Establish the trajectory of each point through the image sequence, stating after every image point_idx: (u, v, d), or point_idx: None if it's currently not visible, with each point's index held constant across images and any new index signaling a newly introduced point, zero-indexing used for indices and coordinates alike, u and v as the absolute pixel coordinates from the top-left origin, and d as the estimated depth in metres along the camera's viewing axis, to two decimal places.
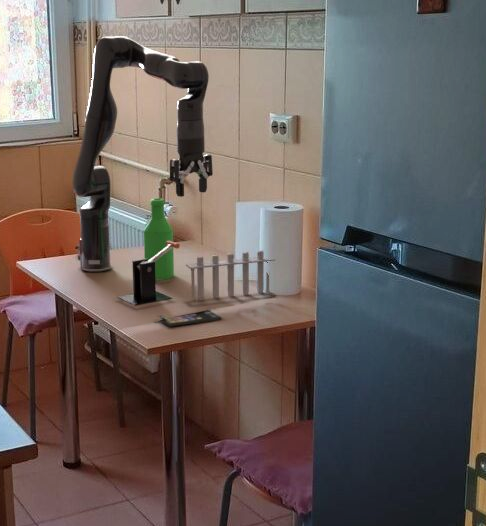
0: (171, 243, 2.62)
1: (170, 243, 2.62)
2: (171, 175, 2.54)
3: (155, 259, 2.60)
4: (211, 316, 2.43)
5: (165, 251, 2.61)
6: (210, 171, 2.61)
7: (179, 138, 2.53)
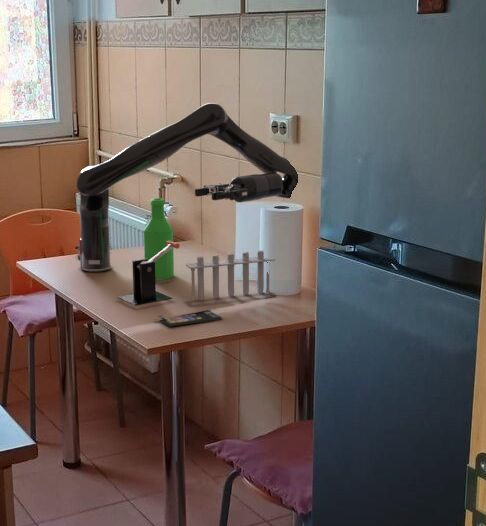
0: (171, 243, 2.62)
1: (170, 243, 2.62)
2: None
3: (155, 259, 2.60)
4: (211, 316, 2.43)
5: (165, 251, 2.61)
6: None
7: (256, 187, 2.68)
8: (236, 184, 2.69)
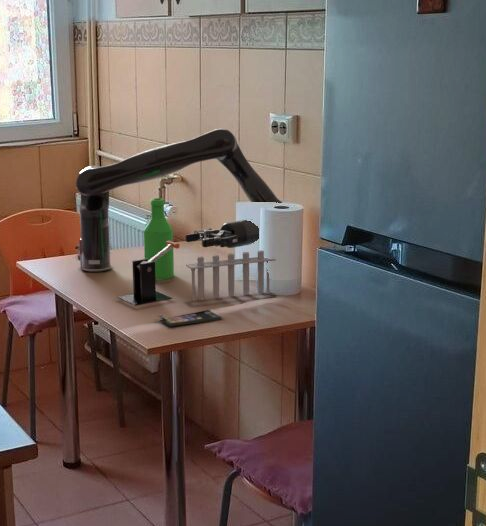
0: (171, 243, 2.62)
1: (170, 243, 2.62)
2: None
3: (155, 259, 2.60)
4: (211, 316, 2.43)
5: (165, 251, 2.61)
6: None
7: (246, 233, 2.70)
8: (226, 230, 2.71)
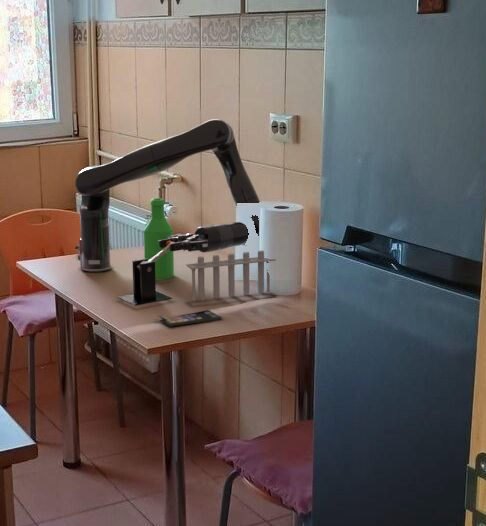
0: None
1: (170, 243, 2.62)
2: (193, 243, 2.59)
3: (155, 259, 2.60)
4: (211, 316, 2.43)
5: (165, 251, 2.61)
6: None
7: (220, 238, 2.65)
8: (200, 234, 2.66)
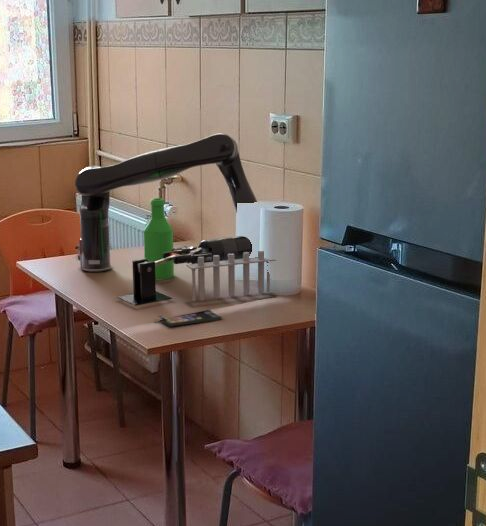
0: (175, 254, 2.63)
1: (174, 254, 2.63)
2: (197, 256, 2.60)
3: (156, 263, 2.60)
4: (211, 316, 2.43)
5: (168, 260, 2.62)
6: None
7: (224, 251, 2.67)
8: (204, 247, 2.68)
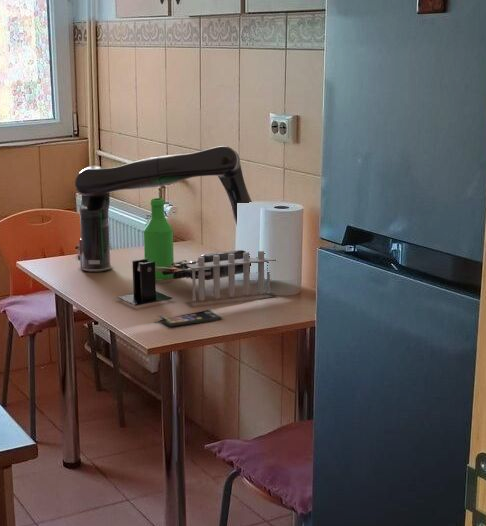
0: (176, 268, 2.64)
1: (175, 268, 2.64)
2: (196, 271, 2.61)
3: (156, 269, 2.60)
4: (211, 316, 2.43)
5: (168, 269, 2.62)
6: None
7: (223, 266, 2.68)
8: None
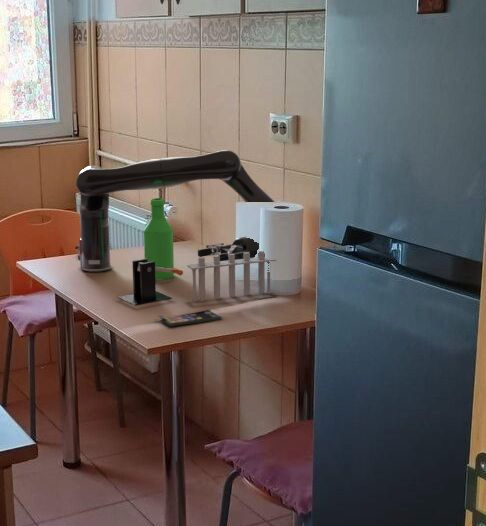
0: (176, 269, 2.64)
1: (175, 268, 2.64)
2: (237, 254, 2.66)
3: (156, 269, 2.60)
4: (211, 316, 2.43)
5: (168, 270, 2.62)
6: None
7: None
8: (238, 245, 2.74)
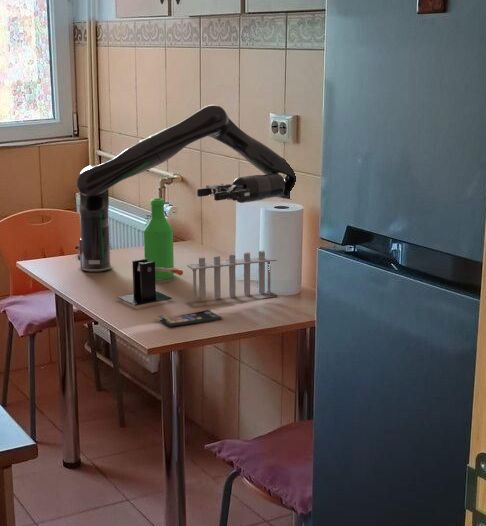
0: (176, 269, 2.64)
1: (175, 268, 2.64)
2: (237, 192, 2.61)
3: (156, 269, 2.60)
4: (211, 316, 2.43)
5: (168, 270, 2.62)
6: None
7: (258, 188, 2.69)
8: (238, 184, 2.69)
